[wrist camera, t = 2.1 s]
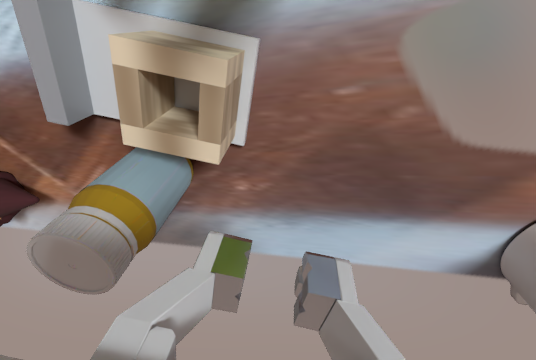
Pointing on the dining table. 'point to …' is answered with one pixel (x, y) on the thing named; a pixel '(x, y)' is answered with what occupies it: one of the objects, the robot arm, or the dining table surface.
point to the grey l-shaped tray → (109, 57)
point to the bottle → (110, 221)
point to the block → (163, 96)
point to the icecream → (12, 197)
